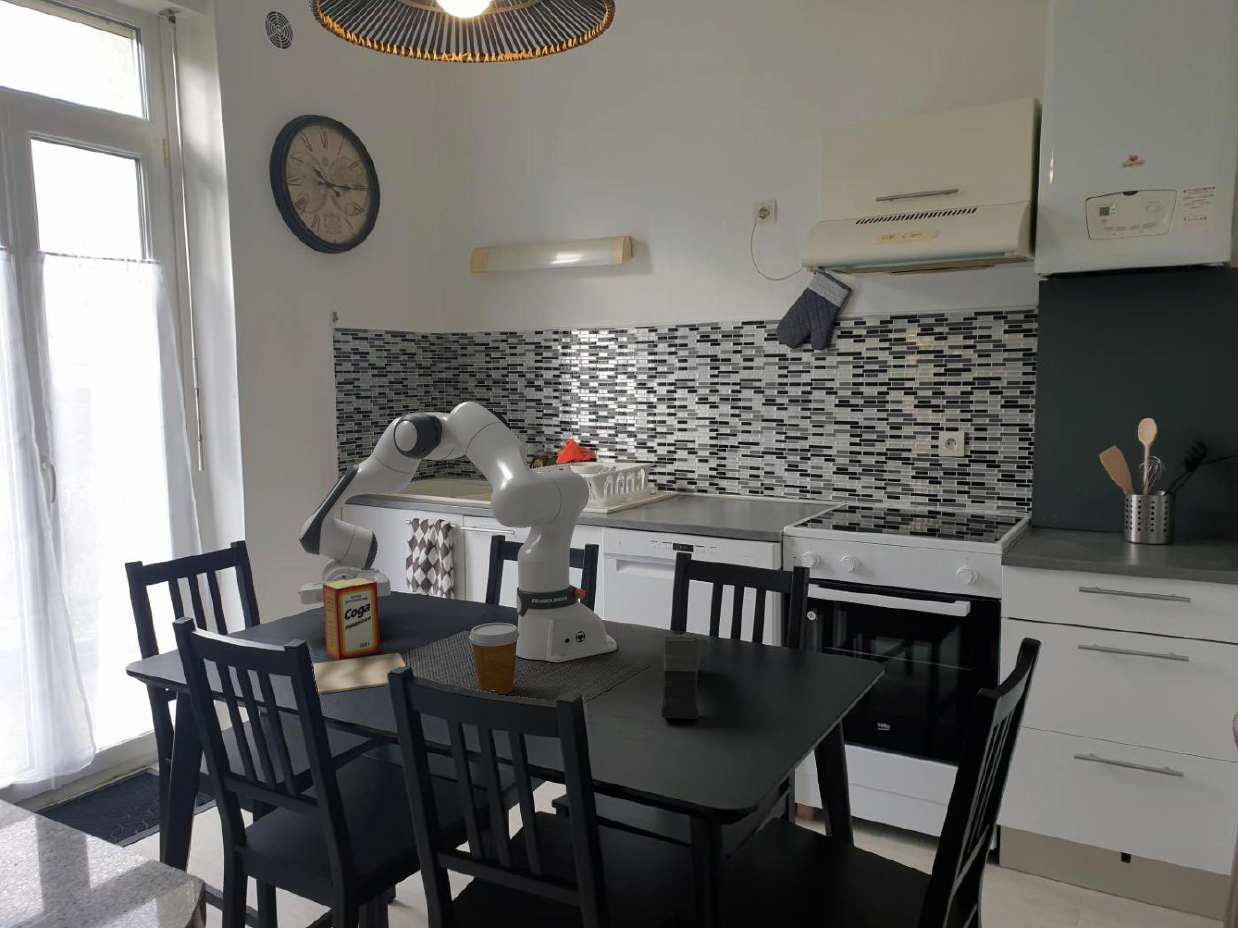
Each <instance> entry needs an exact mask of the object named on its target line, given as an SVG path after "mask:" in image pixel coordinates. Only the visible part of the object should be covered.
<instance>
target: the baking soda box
mask: <svg viewBox="0 0 1238 928" xmlns="http://www.w3.org/2000/svg"><path fill="white" fill-rule="evenodd" d="M378 600H379V599H378V597H377V582H376V581H373V580H370V579H367V578H356V579H350V580H339V581H335V582H331V583H327V584H323V601H324V603H323V616H324V633H325V634H324V635H325V649H326V656H329V657H331V658H333V659H334V660H335V661H338V660H346V659H354V658H360V657H362V656H363V657H364V656H367V655H371V654H375V653H380V652H381V644H380V643H381V639H380V619H379V601H378Z"/></svg>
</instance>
